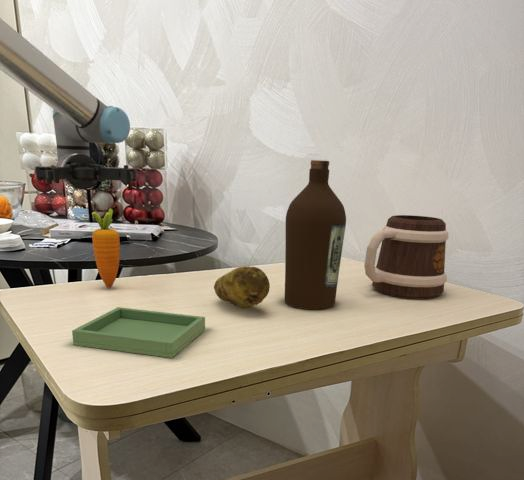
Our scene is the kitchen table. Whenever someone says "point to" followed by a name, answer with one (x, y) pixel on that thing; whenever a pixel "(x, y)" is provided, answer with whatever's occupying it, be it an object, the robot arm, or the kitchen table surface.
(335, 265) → the olive oil
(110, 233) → the carrot
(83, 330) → the green tray
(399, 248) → the mug
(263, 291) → the potato
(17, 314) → the kitchen table surface
